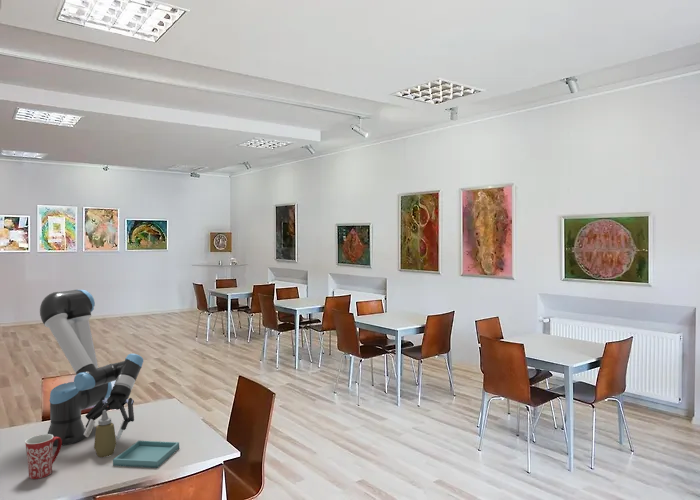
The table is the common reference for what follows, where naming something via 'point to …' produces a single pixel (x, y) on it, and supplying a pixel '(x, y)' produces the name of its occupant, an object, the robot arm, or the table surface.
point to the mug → (41, 454)
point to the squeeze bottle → (105, 436)
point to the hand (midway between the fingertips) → (101, 436)
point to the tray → (146, 454)
